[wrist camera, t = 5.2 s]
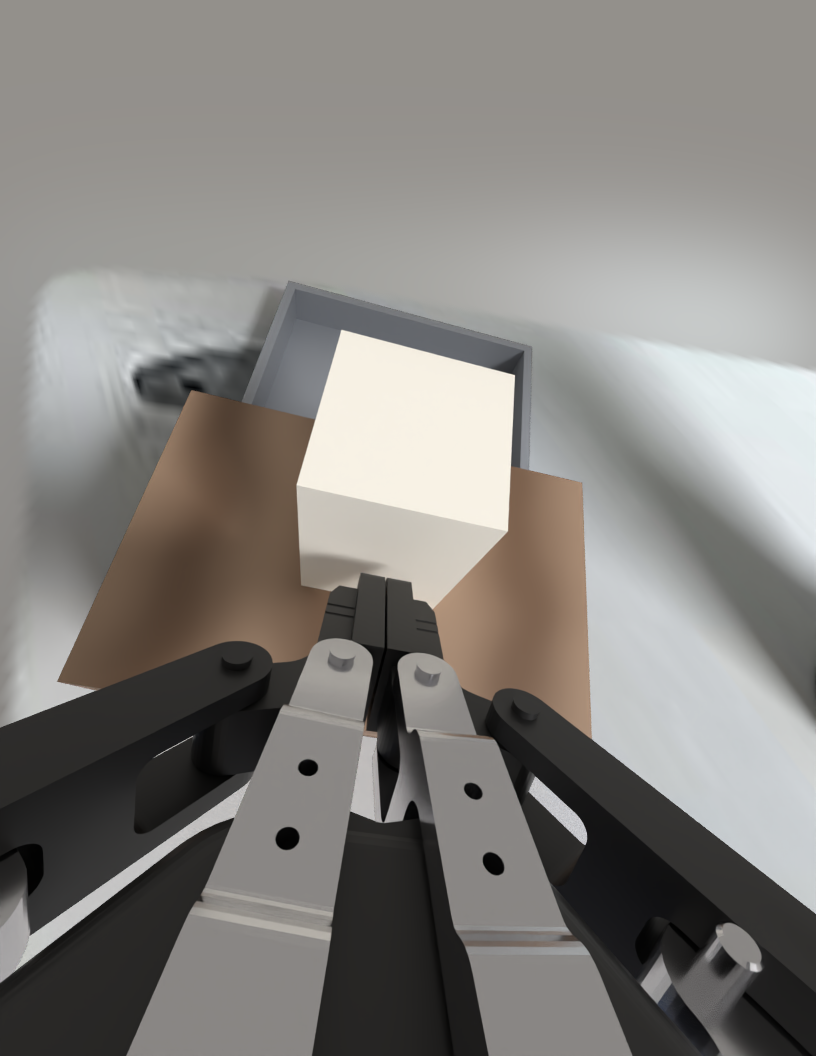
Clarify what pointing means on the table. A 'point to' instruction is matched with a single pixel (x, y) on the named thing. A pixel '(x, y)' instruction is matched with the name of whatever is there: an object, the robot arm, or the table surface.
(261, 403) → the box
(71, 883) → the robot arm
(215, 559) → the walnut platform
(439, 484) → the cream block
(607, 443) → the table surface
